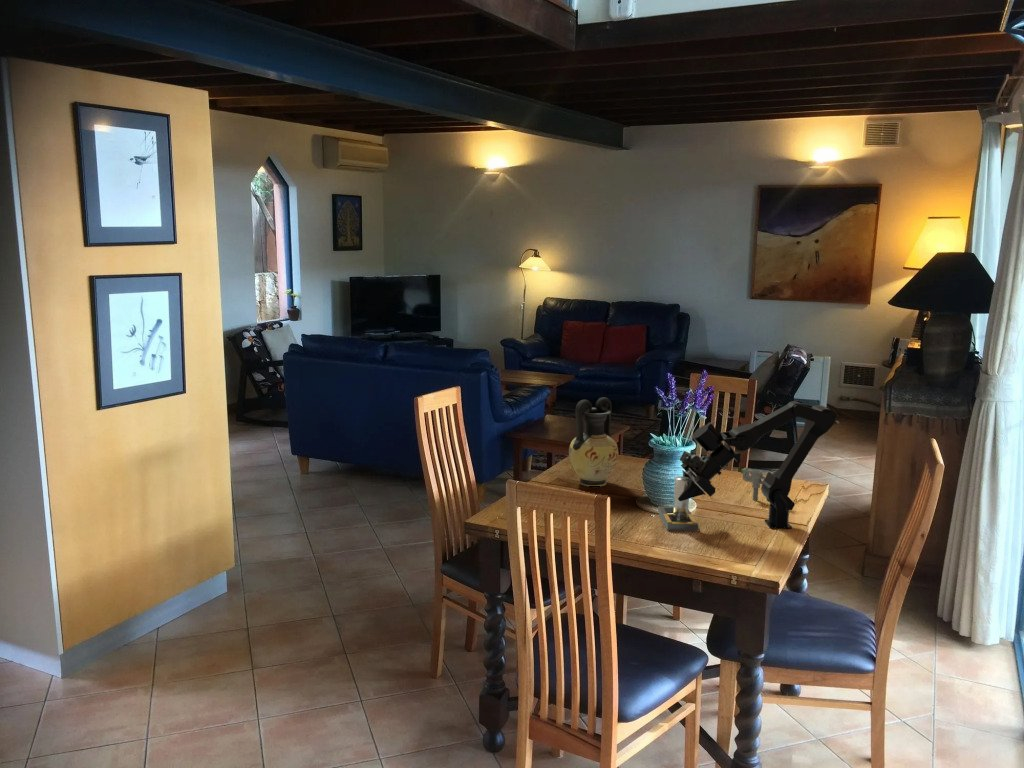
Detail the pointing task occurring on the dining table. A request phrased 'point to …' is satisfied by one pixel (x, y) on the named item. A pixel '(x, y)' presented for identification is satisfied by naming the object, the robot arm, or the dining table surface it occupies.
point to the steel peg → (680, 506)
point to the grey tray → (677, 525)
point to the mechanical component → (753, 479)
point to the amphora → (593, 443)
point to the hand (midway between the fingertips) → (676, 497)
